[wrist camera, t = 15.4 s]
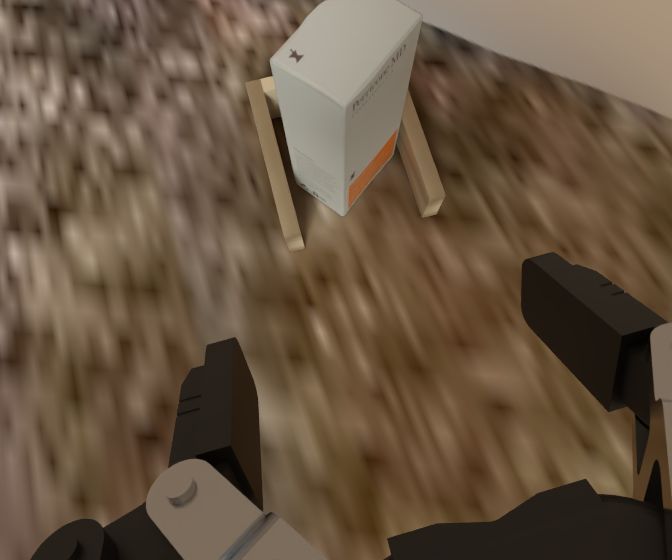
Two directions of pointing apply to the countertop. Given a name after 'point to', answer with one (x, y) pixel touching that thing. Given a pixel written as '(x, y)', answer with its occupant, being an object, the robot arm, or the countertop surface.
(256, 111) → the u-shaped wooden frame
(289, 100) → the skincare box
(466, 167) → the countertop surface
